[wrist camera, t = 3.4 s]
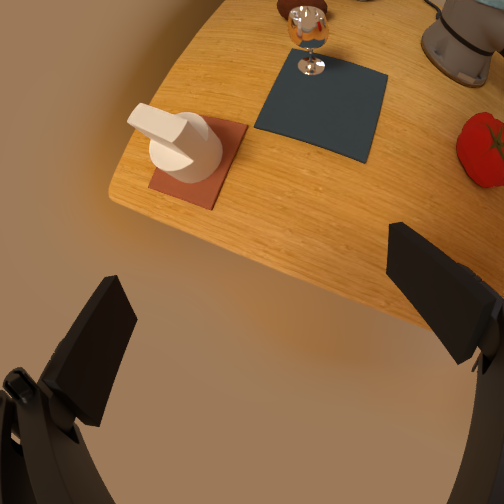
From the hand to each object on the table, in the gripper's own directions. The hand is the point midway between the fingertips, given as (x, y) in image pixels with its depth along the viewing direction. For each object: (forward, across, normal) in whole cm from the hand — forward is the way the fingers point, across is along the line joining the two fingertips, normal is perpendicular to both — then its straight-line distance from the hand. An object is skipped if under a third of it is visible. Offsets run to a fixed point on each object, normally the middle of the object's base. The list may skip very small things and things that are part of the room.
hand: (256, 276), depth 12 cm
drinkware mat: (+31, +15, +10) cm, 36 cm away
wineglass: (+34, +15, +16) cm, 40 cm away
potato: (+42, +18, +29) cm, 54 cm away
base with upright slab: (+32, -6, +4) cm, 32 cm away
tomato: (+21, +37, 0) cm, 43 cm away
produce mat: (+32, -6, +3) cm, 33 cm away
